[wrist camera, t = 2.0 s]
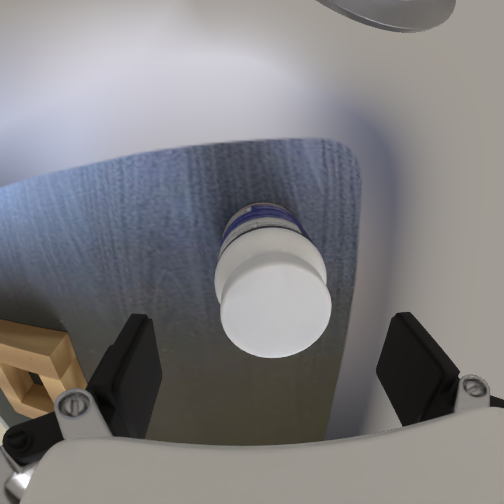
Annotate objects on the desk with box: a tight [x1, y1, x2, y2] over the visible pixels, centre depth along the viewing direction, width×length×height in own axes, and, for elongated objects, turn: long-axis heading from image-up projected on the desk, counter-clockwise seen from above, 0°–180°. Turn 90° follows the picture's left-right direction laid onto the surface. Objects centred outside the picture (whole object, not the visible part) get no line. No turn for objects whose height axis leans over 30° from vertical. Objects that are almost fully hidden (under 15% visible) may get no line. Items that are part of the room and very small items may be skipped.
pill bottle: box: [215, 203, 331, 358], centre depth 17 cm, size 6×6×10 cm
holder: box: [0, 319, 88, 419], centre depth 24 cm, size 13×13×4 cm
